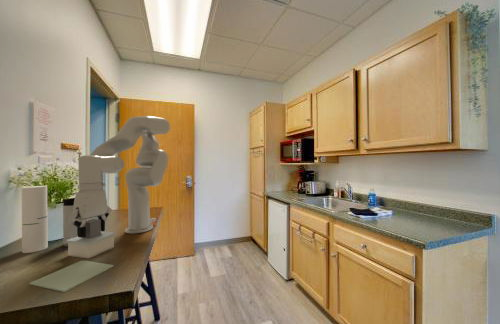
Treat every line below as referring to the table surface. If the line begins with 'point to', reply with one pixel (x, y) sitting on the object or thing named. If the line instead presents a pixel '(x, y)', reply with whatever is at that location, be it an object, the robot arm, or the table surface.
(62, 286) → the mat
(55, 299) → the table surface
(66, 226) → the travel mug
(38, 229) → the cylindrical container
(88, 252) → the open square tray
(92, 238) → the lid
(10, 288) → the table surface
